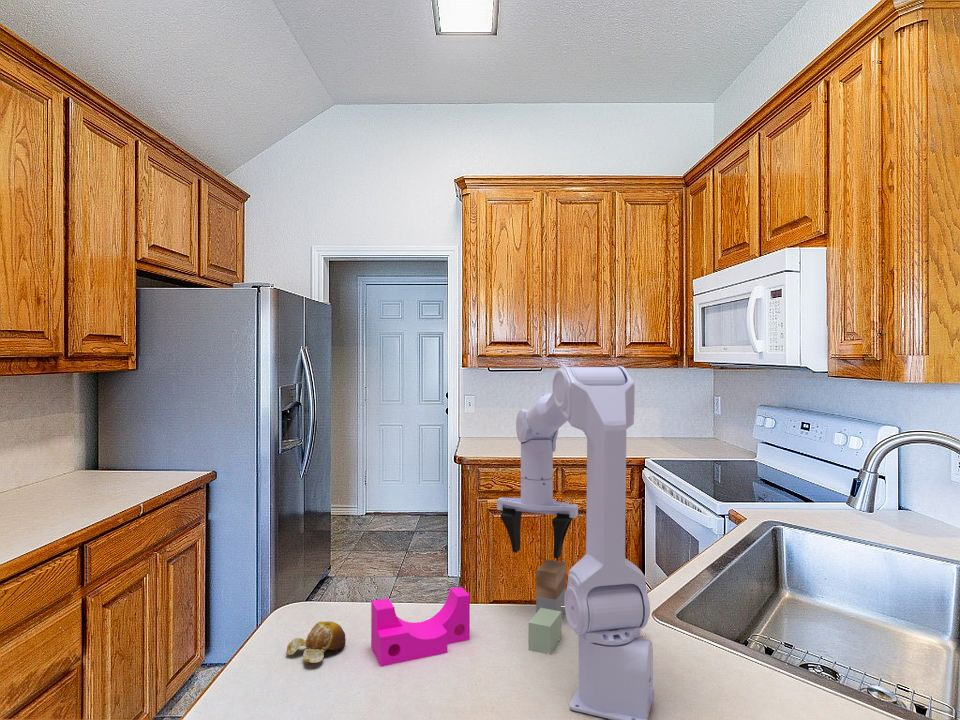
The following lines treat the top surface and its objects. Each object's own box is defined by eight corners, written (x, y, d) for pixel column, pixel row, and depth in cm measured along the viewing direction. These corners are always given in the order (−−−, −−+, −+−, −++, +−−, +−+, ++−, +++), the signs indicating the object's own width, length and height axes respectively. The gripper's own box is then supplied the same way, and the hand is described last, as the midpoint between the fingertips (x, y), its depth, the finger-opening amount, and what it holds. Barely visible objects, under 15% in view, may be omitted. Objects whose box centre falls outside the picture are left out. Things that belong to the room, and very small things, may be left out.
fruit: (280, 649, 89) (281, 625, 90) (326, 634, 96) (328, 611, 96) (310, 667, 84) (311, 641, 84) (357, 650, 90) (359, 625, 90)
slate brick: (565, 613, 104) (565, 587, 104) (556, 626, 99) (556, 599, 99) (546, 609, 106) (546, 584, 106) (536, 623, 100) (536, 596, 100)
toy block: (380, 668, 85) (380, 616, 85) (371, 649, 91) (371, 600, 91) (475, 649, 91) (475, 600, 91) (461, 632, 97) (461, 586, 97)
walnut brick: (565, 587, 104) (565, 562, 104) (555, 599, 99) (555, 573, 99) (547, 584, 106) (547, 559, 106) (536, 596, 100) (536, 570, 100)
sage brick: (561, 639, 94) (561, 611, 94) (550, 656, 89) (550, 626, 89) (540, 635, 96) (540, 607, 96) (528, 651, 90) (528, 622, 90)
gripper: (582, 476, 105) (582, 552, 105) (506, 470, 111) (506, 542, 111) (572, 483, 99) (572, 564, 99) (492, 477, 105) (492, 553, 105)
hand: (536, 553), depth 104 cm, fingers open, 7 cm apart
